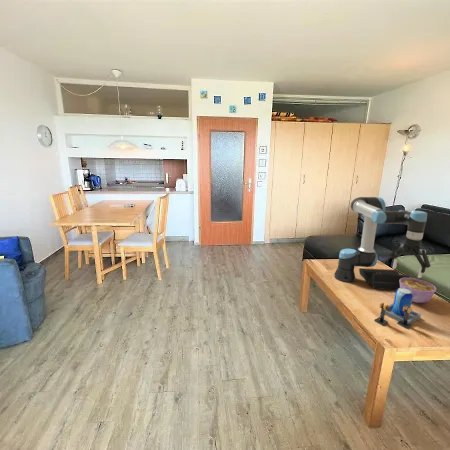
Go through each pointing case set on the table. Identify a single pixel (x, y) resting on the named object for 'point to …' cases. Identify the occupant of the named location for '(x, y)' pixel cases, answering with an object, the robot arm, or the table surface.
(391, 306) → the tray
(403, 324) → the clip posts
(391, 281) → the video game console
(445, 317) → the table surface
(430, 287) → the bowl of food
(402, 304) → the beer can
